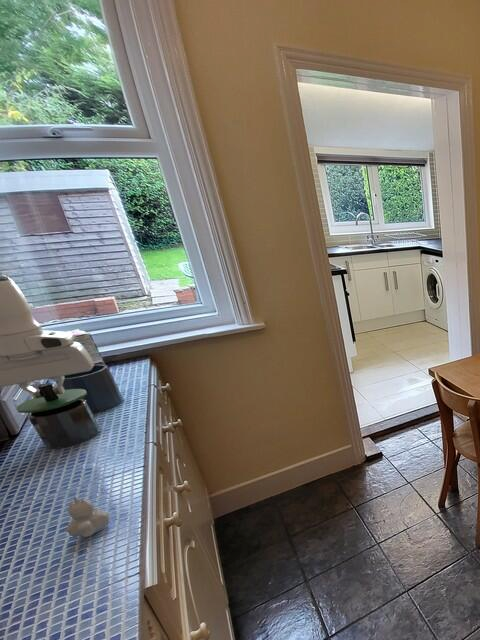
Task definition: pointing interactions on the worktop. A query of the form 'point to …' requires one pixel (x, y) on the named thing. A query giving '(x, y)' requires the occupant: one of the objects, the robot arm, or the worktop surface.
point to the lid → (50, 399)
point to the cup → (65, 425)
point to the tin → (95, 388)
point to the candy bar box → (87, 344)
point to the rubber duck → (85, 518)
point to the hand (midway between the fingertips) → (50, 395)
